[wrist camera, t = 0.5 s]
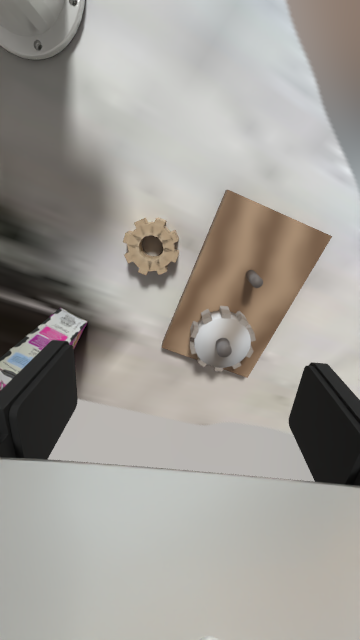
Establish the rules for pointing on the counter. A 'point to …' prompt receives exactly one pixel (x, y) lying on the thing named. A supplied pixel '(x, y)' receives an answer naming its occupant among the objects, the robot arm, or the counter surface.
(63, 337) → the candy bar box
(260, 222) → the gear board
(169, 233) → the wooden gear
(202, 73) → the counter surface
